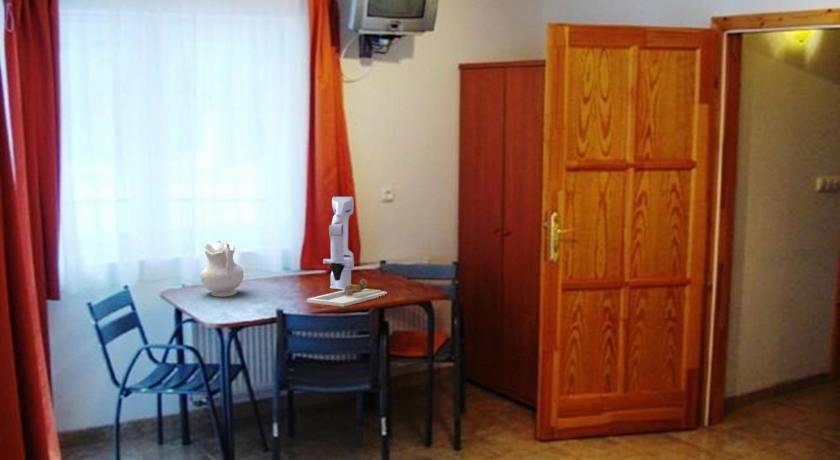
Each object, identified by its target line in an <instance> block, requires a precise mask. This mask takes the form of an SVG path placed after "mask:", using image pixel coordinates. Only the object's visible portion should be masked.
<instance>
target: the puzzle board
mask: <svg viewBox="0 0 840 460" xmlns="http://www.w3.org/2000/svg"><path fill="white" fill-rule="evenodd" d="M370 289H371V288H365V289H364V290H362V291H366V290H370ZM344 292H345V290H343V289H342V290H339V291H334V292H330V293H326V294H322V295H317V296H314V297H309V298H306V303H309V304H319V305H326V306H335V307H343V308H344V307H347V306H350V305H355V304H358V303H362V302H366V301H370V300H373V299H377V298H380V297H382V295H383V296H385V294H386V295H387V294H388V292H387V291H382V290H381V292H378V293H374V294H370V295H366V296H362V297H359V298H351V297H345V295H344ZM379 296H380V297H379Z"/></svg>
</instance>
